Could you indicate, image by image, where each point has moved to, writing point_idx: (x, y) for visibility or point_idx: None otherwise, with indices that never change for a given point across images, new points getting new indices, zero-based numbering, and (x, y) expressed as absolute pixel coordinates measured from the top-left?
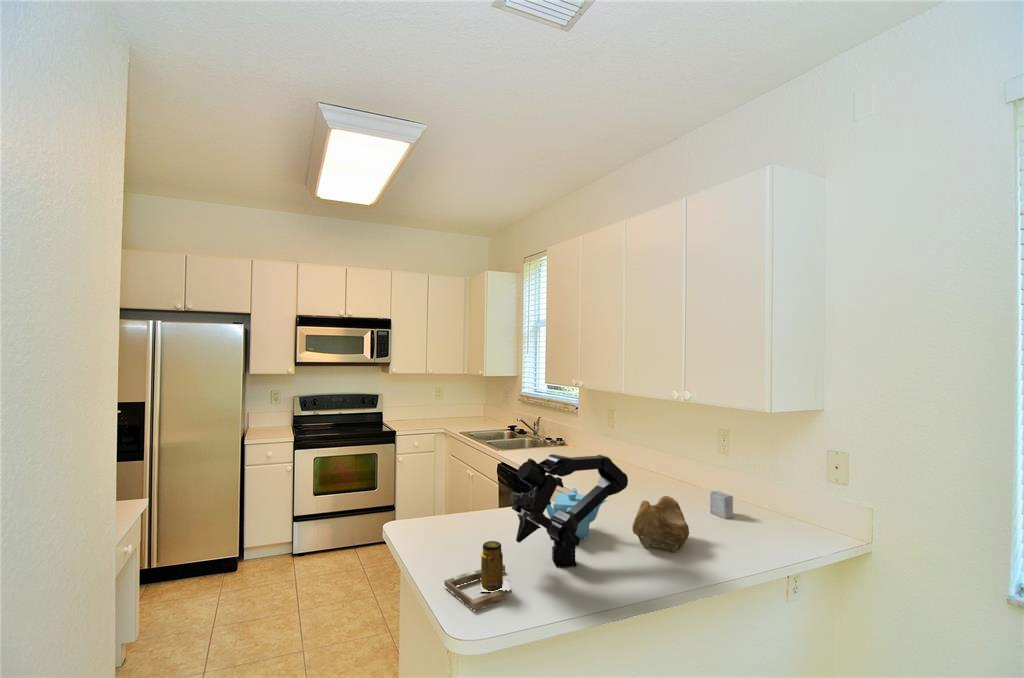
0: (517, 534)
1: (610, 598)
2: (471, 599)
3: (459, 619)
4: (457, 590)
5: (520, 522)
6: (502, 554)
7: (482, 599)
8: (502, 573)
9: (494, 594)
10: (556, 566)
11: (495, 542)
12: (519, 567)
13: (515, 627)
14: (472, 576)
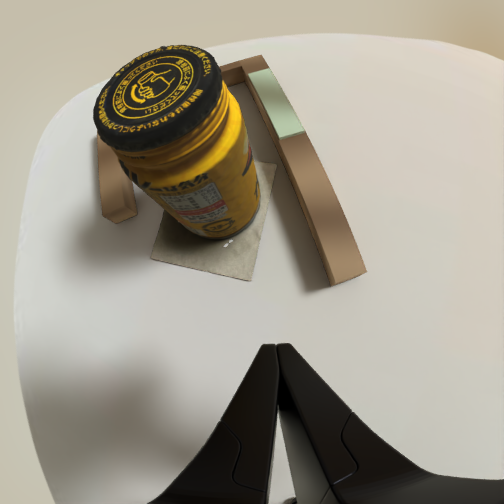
0: (306, 374)
1: (70, 493)
2: None
3: None
4: None
5: (376, 480)
6: (148, 185)
7: (101, 141)
8: (179, 219)
9: (107, 178)
10: (295, 499)
11: (168, 105)
12: (356, 364)
13: (24, 218)
14: (272, 127)
